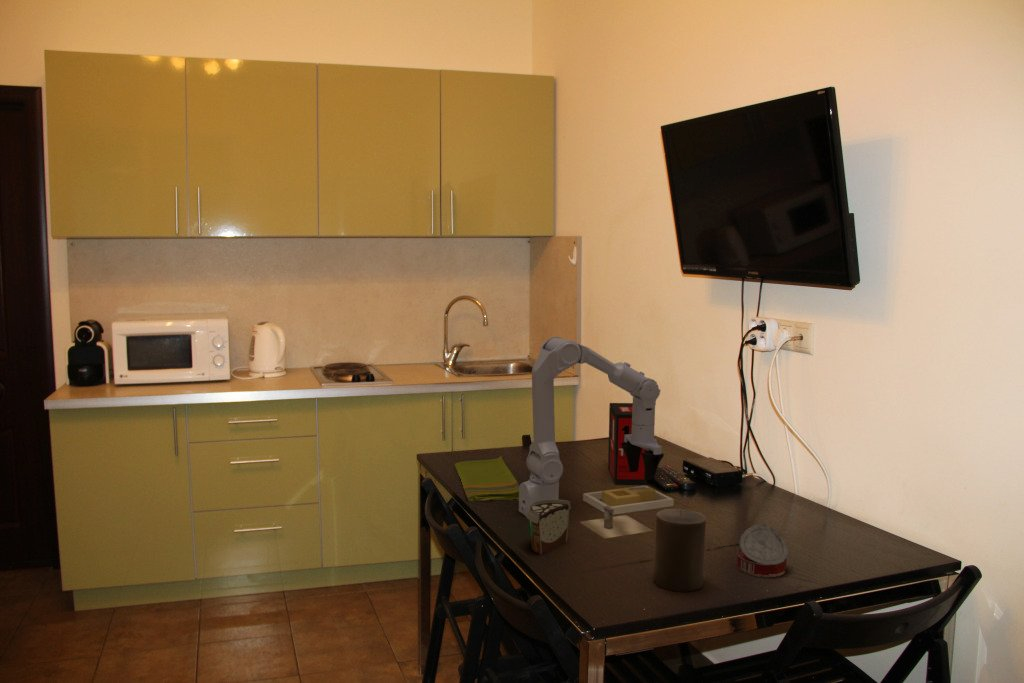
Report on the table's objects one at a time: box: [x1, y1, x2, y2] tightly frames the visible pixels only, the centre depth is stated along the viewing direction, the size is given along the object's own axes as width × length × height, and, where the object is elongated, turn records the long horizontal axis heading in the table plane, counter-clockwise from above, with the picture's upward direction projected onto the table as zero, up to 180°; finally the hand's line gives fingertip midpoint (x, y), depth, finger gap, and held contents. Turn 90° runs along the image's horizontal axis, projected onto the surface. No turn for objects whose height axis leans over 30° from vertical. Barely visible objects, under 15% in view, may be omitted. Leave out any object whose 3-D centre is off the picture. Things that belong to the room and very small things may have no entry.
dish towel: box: [454, 455, 520, 502], centre depth 234 cm, size 15×36×3 cm, turn 10°
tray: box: [582, 485, 675, 516], centre depth 214 cm, size 19×13×2 cm
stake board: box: [579, 505, 654, 540], centre depth 196 cm, size 13×12×6 cm
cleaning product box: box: [607, 402, 648, 486], centre depth 239 cm, size 16×9×20 cm, turn 0°
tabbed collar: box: [601, 487, 656, 507], centre depth 214 cm, size 13×7×3 cm, turn 114°
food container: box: [525, 499, 572, 555], centre depth 183 cm, size 12×6×10 cm, turn 141°
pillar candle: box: [653, 508, 707, 593], centre depth 166 cm, size 10×10×15 cm
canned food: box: [736, 523, 789, 575], centre depth 173 cm, size 11×10×10 cm
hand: (641, 475), depth 214 cm, fingers open, 7 cm apart
